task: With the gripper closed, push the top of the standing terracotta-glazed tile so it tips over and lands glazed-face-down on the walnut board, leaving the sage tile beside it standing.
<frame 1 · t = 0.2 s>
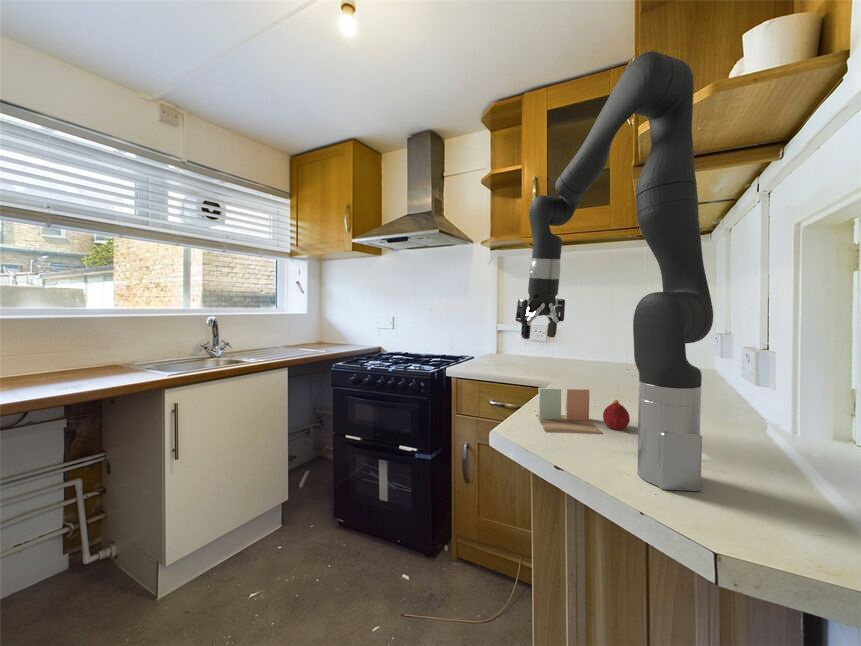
hand: (538, 337, 98), 22 cm above the countertop, tool pointing down, fingers open, 8 cm apart
sage tile: (549, 418, 97), point 1 cm above the countertop, touching walnut board
walnut board: (567, 428, 93), on the countertop
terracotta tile: (577, 419, 96), point 1 cm above the countertop, touching walnut board
onion: (615, 433, 89), on the countertop
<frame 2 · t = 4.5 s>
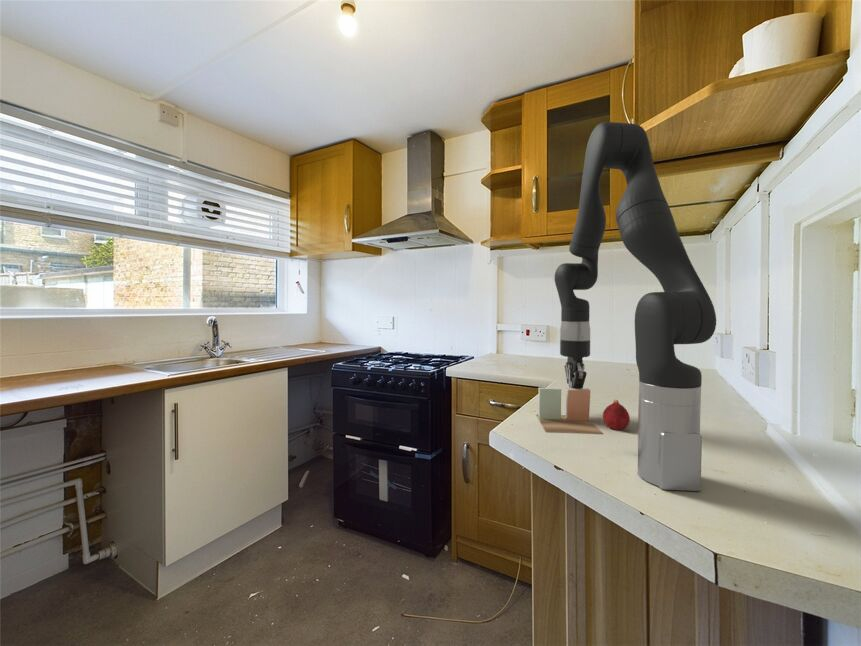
hand: (574, 402, 99), 5 cm above the countertop, tool pointing down, fingers closed
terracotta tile: (577, 418, 96), point 1 cm above the countertop, tilted 6°, touching walnut board
everything else where it was.
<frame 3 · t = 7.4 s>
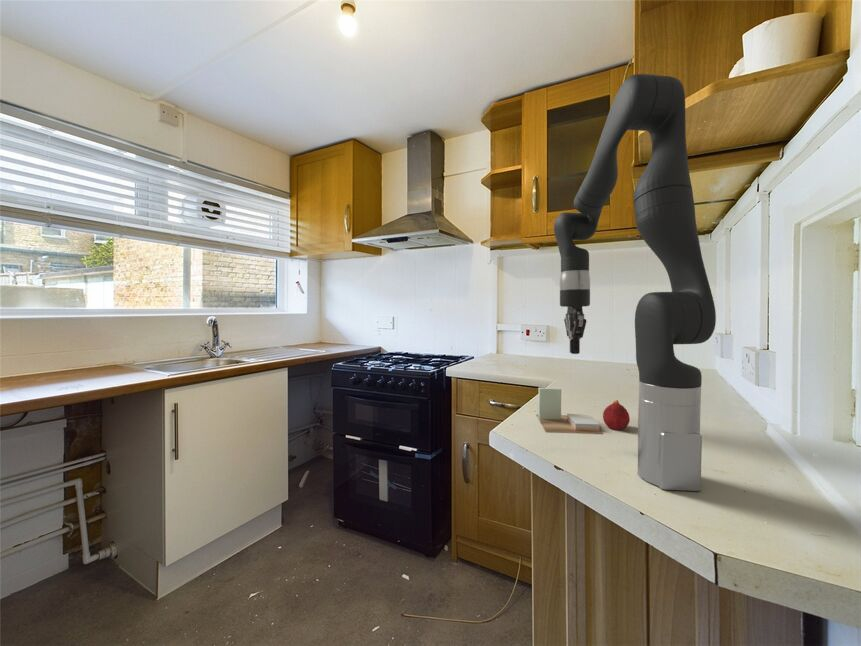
hand: (574, 353, 98), 18 cm above the countertop, tool pointing down, fingers closed
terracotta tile: (578, 417, 95), point 2 cm above the countertop, tilted 90°, touching walnut board
everything else where it was.
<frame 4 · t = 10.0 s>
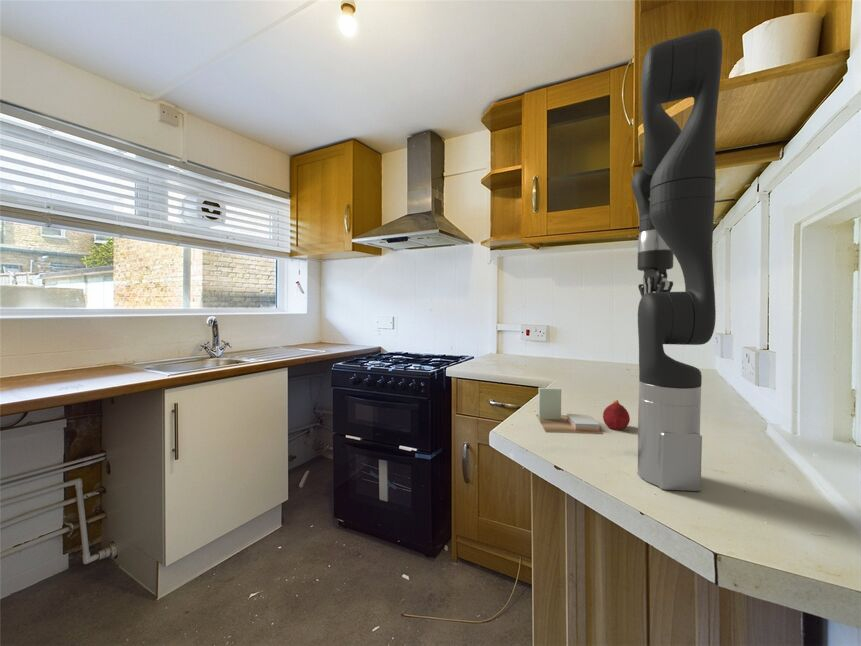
hand: (653, 320, 91), 27 cm above the countertop, tool pointing down, fingers closed
nothing on the countertop moved.
at the end: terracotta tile tilted 90°; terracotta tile inside the target area (1.6 cm from its centre), point 2.0 cm above the countertop; sage tile tilted 0° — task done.
